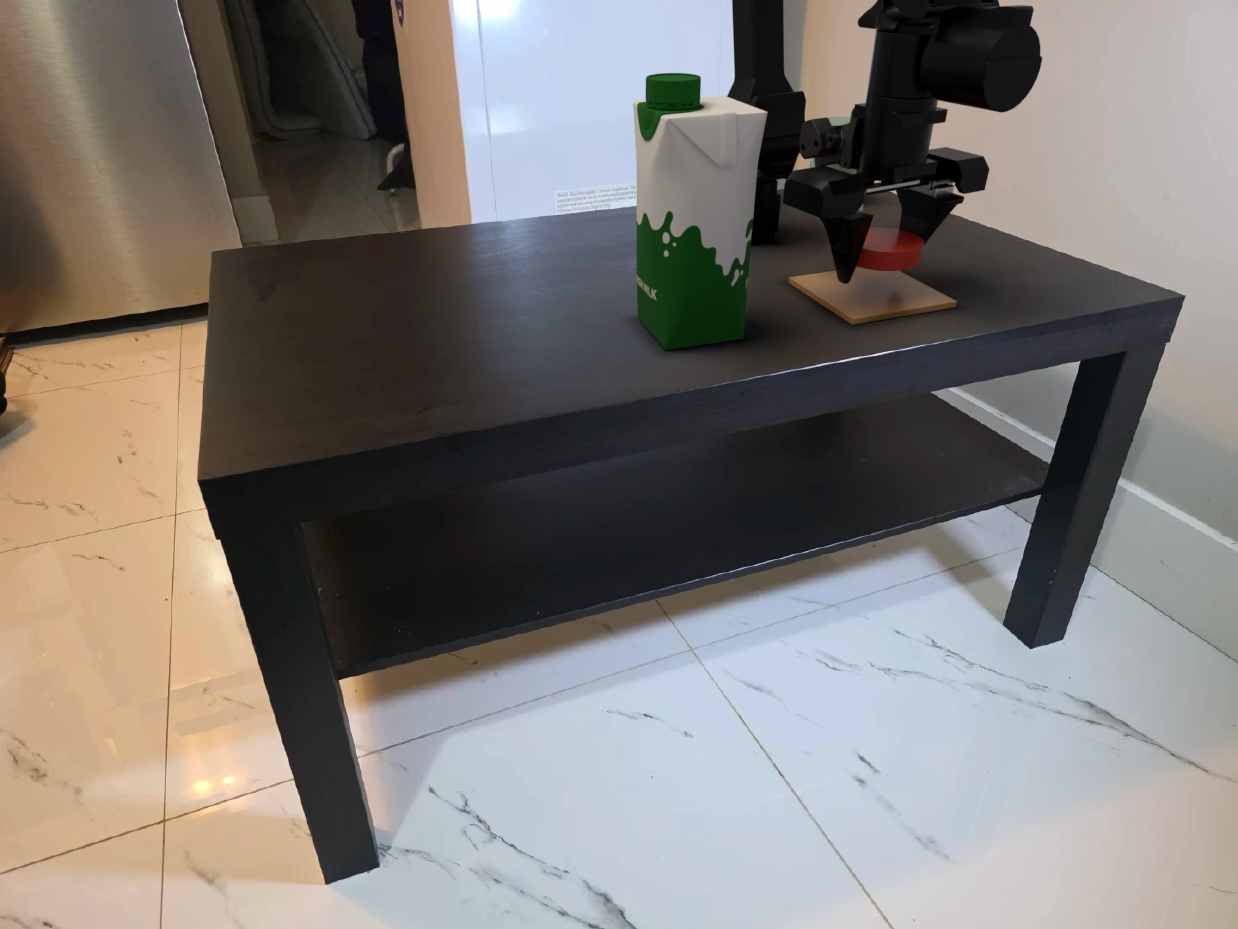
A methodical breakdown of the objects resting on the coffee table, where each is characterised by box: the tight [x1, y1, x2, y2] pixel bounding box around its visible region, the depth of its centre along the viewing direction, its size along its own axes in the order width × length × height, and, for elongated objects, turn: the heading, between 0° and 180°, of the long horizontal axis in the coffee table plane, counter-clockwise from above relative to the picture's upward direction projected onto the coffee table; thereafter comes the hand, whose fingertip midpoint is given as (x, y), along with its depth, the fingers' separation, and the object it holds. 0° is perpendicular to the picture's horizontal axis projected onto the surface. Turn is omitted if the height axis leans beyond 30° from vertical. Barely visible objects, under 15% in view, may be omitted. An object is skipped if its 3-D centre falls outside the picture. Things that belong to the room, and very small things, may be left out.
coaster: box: [788, 266, 958, 326], centre depth 76 cm, size 11×11×1 cm
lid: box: [856, 226, 925, 272], centre depth 73 cm, size 7×7×2 cm
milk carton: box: [632, 72, 768, 351], centre depth 65 cm, size 9×9×20 cm
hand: (872, 275), depth 75 cm, fingers closed on lid, 7 cm apart
